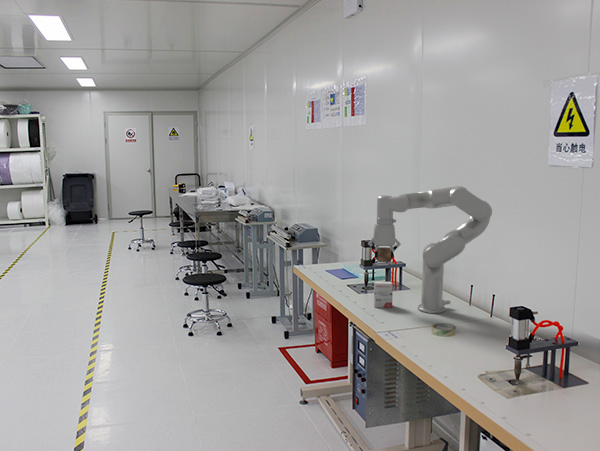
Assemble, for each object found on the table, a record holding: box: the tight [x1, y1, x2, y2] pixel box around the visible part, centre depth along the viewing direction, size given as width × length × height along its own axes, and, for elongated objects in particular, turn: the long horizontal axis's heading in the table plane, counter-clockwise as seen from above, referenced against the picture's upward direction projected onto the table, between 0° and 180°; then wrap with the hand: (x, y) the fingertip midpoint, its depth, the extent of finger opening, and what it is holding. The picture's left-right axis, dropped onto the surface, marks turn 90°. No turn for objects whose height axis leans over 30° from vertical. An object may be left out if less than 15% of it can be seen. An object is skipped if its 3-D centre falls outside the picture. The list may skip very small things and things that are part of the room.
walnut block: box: [376, 246, 392, 263], centre depth 255 cm, size 6×6×6 cm
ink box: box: [373, 281, 393, 309], centre depth 258 cm, size 9×5×12 cm, turn 84°
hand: (383, 259), depth 255 cm, fingers closed on walnut block, 6 cm apart
